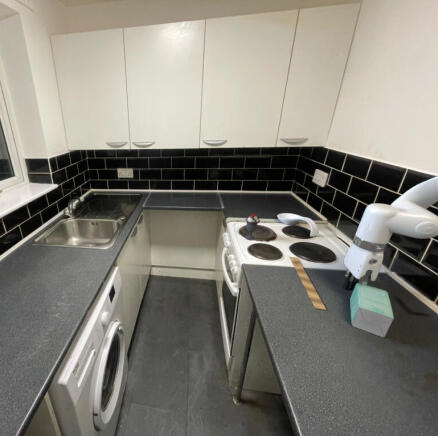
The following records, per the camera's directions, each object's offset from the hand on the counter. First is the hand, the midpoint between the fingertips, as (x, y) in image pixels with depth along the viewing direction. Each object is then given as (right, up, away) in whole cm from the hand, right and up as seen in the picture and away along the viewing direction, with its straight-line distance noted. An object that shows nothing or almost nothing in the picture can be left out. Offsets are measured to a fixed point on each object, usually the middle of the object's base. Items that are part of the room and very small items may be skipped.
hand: (349, 288), depth 79 cm
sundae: (-17, +14, +38) cm, 44 cm away
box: (-2, -6, -8) cm, 10 cm away
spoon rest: (+13, +19, +47) cm, 53 cm away
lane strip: (-10, +1, +8) cm, 13 cm away
